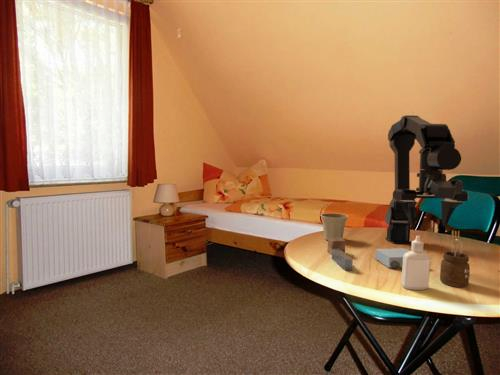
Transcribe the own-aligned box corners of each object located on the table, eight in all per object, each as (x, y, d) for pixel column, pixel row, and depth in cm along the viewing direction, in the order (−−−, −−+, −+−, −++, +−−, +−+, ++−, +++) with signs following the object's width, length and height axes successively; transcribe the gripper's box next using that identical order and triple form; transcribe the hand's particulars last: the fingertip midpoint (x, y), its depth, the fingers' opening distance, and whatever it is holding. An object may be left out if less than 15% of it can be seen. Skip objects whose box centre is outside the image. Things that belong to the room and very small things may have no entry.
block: (340, 251, 108) (340, 237, 108) (344, 255, 104) (345, 240, 104) (327, 252, 108) (328, 237, 107) (331, 256, 104) (332, 241, 103)
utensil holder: (440, 285, 82) (444, 234, 80) (438, 276, 87) (441, 229, 86) (470, 289, 79) (474, 237, 78) (466, 280, 85) (470, 232, 84)
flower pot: (314, 237, 126) (315, 213, 125) (335, 235, 130) (336, 212, 129) (330, 244, 117) (331, 218, 116) (352, 241, 121) (353, 216, 120)
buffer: (338, 258, 101) (339, 248, 101) (352, 270, 91) (352, 259, 91) (331, 258, 101) (332, 248, 100) (344, 270, 91) (345, 259, 91)
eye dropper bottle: (428, 293, 77) (432, 239, 76) (400, 288, 80) (404, 236, 78) (428, 286, 81) (431, 235, 80) (401, 282, 83) (404, 232, 82)
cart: (403, 257, 103) (403, 247, 103) (422, 268, 93) (423, 257, 93) (373, 257, 102) (374, 248, 102) (390, 269, 92) (391, 258, 92)
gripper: (413, 169, 88) (410, 231, 89) (484, 170, 89) (481, 231, 90) (392, 169, 99) (390, 224, 100) (456, 170, 100) (453, 224, 101)
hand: (428, 226), depth 97 cm, fingers open, 9 cm apart
